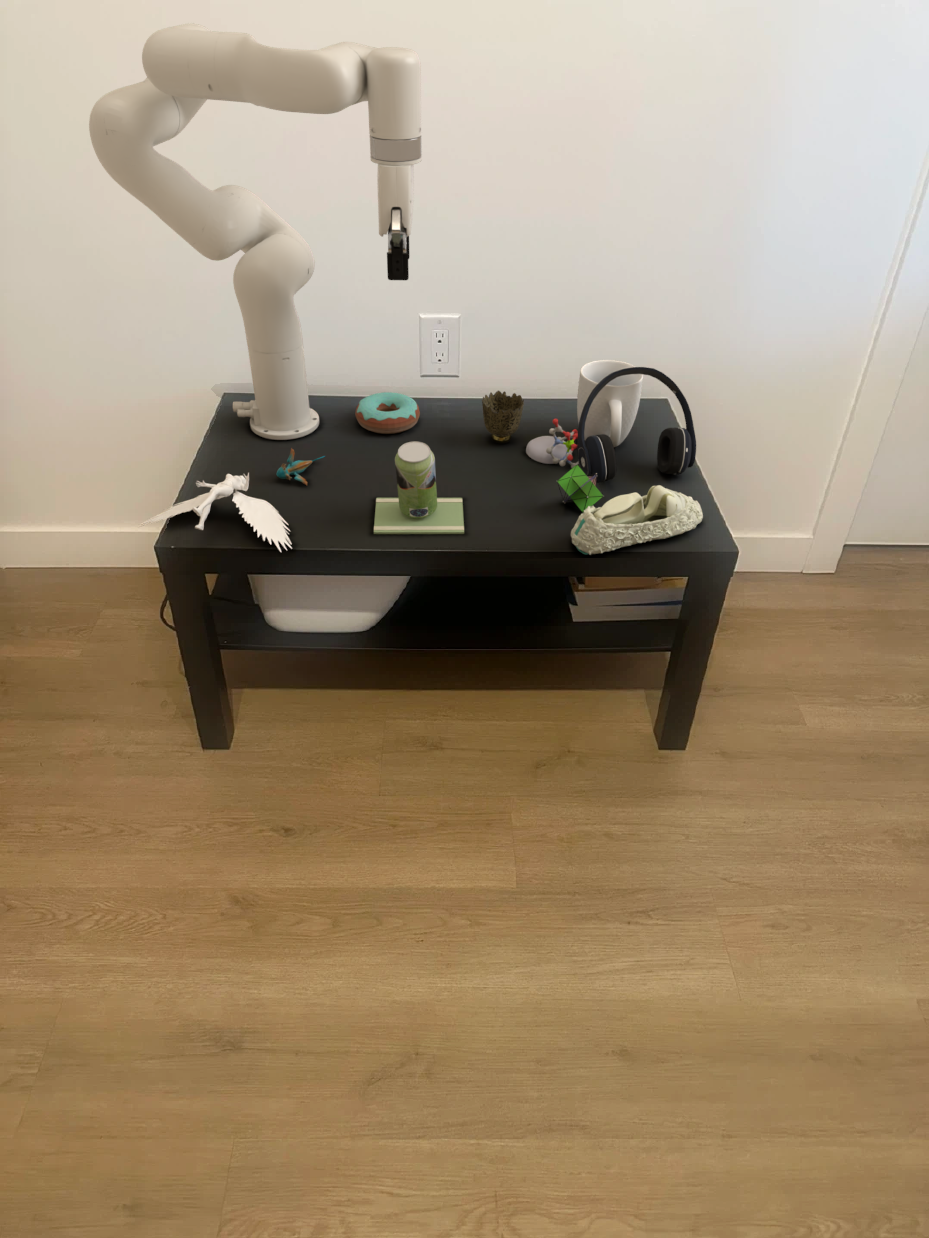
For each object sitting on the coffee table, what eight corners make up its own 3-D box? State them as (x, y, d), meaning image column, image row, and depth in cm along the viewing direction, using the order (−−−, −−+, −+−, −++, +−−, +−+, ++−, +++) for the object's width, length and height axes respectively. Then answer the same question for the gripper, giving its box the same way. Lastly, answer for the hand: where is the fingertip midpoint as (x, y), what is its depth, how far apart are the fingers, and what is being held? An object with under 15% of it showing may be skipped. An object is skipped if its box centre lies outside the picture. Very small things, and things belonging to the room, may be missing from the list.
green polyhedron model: (591, 466, 133) (576, 451, 140) (557, 495, 135) (544, 478, 142) (617, 498, 137) (601, 481, 144) (583, 526, 138) (569, 508, 145)
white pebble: (525, 452, 151) (525, 462, 152) (571, 455, 150) (570, 465, 152) (527, 430, 157) (526, 439, 158) (572, 433, 156) (570, 443, 158)
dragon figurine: (279, 452, 150) (266, 457, 143) (318, 438, 149) (306, 442, 142) (295, 488, 152) (282, 495, 144) (332, 473, 151) (322, 480, 143)
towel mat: (373, 534, 134) (373, 531, 134) (376, 499, 142) (376, 497, 141) (464, 534, 134) (464, 531, 134) (462, 499, 142) (462, 497, 142)
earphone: (684, 473, 152) (678, 366, 149) (702, 472, 146) (697, 360, 143) (576, 484, 149) (568, 375, 146) (589, 484, 142) (581, 369, 139)
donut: (350, 412, 165) (349, 392, 163) (411, 405, 168) (411, 385, 165) (362, 441, 157) (361, 421, 154) (426, 433, 159) (426, 413, 157)
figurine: (112, 523, 127) (162, 530, 141) (269, 560, 123) (304, 564, 137) (128, 443, 126) (176, 458, 140) (287, 478, 122) (320, 490, 136)
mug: (642, 466, 151) (654, 396, 143) (580, 466, 151) (588, 396, 143) (626, 426, 163) (637, 359, 155) (568, 426, 162) (575, 359, 154)
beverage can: (439, 502, 140) (439, 435, 133) (433, 527, 135) (433, 459, 127) (400, 500, 141) (398, 433, 133) (394, 525, 135) (391, 456, 128)
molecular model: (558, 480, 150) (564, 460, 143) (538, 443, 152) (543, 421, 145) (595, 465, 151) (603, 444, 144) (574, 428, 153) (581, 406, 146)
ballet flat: (716, 530, 138) (728, 487, 132) (592, 572, 128) (600, 528, 123) (680, 502, 143) (691, 460, 138) (559, 541, 133) (565, 497, 128)
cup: (527, 436, 159) (530, 395, 154) (512, 453, 154) (514, 412, 149) (490, 427, 162) (492, 387, 157) (474, 444, 156) (475, 403, 151)
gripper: (372, 136, 133) (377, 252, 144) (367, 162, 120) (372, 288, 131) (421, 137, 133) (422, 252, 144) (421, 163, 120) (422, 288, 131)
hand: (398, 269), depth 138 cm, fingers open, 9 cm apart
